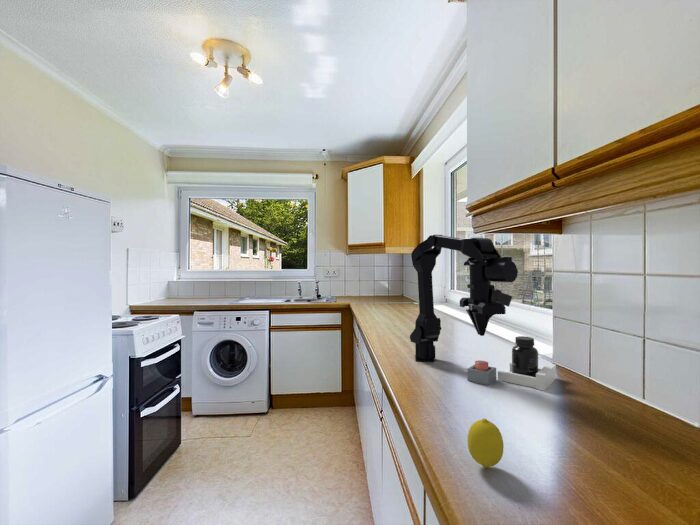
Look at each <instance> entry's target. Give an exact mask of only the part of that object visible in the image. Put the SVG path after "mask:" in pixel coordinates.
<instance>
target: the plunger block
mask: <svg viewBox="0 0 700 525" xmlns="http://www.w3.org/2000/svg"><path fill="white" fill-rule="evenodd" d="M466 370H467V372H466V376H467V382H471V383H476V384H479V385H480V384H481V385H485V386H490V385H491V384H493V383H495V382H496V381H497V367H493V366H489V365H488V371H481V370H476V369H475V364H473V365H471V366H469V367H467V369H466Z"/></svg>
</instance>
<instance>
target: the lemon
mask: <svg viewBox="0 0 700 525" xmlns="http://www.w3.org/2000/svg"><path fill="white" fill-rule="evenodd" d="M467 449H468V452H469V454H470V456H471V458H472V459H473V460H474V461H475V462H477V463H478V464H479V465H480V466H482V467H483V468H484V469H488V468H489V467H494V466H497V465H498V464H499V463H500V462H501V460H502V458H503V455H504V440H503V436H502V433H501V431H500V429H499V428H498V426H497V425H496V424H494V423H493V422H492V421H489V420H488V419H487V418H485V417H483V418H482V419H479V420H476V421H475V422H473V423H472V424H471V425H470V427H469V428H468V433H467Z"/></svg>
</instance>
